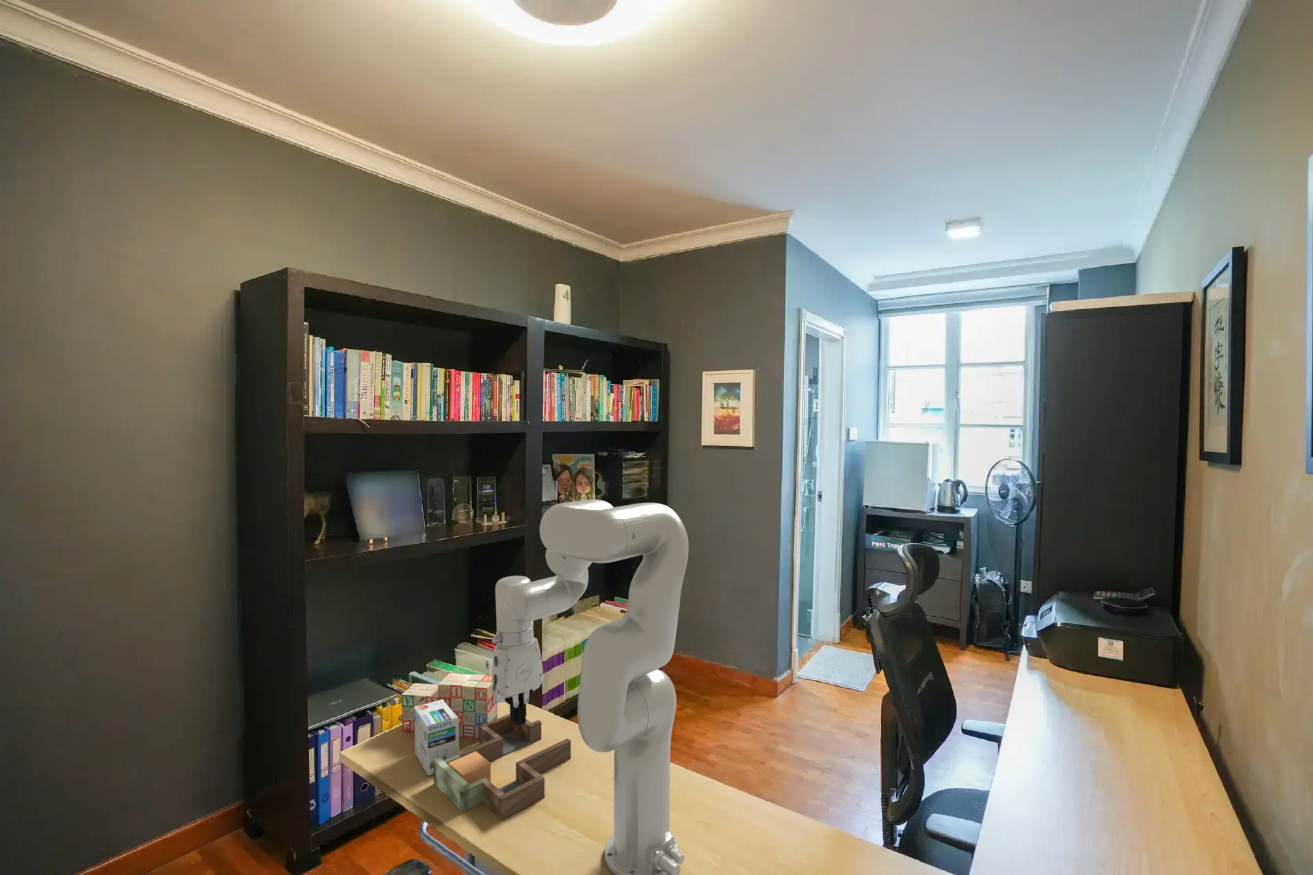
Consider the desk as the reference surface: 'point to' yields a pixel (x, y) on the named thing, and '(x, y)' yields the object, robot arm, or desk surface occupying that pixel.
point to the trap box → (495, 744)
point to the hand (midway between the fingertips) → (518, 722)
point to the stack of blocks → (454, 701)
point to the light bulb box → (435, 733)
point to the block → (472, 767)
